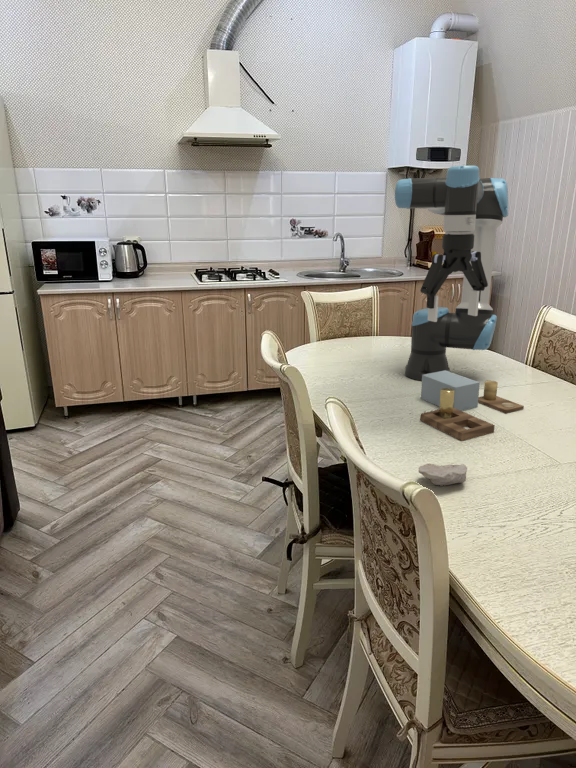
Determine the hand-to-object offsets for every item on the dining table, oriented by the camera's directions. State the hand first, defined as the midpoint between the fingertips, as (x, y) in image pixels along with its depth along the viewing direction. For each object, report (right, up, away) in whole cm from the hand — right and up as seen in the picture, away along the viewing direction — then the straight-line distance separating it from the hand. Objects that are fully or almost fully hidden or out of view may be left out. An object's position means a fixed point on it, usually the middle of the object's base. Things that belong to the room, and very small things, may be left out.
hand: (452, 318), depth 143 cm
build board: (+3, -28, +5) cm, 29 cm away
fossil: (-9, -39, -24) cm, 46 cm away
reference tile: (+19, -23, +20) cm, 36 cm away
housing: (+6, -23, +23) cm, 33 cm away
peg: (+1, -27, +9) cm, 29 cm away
